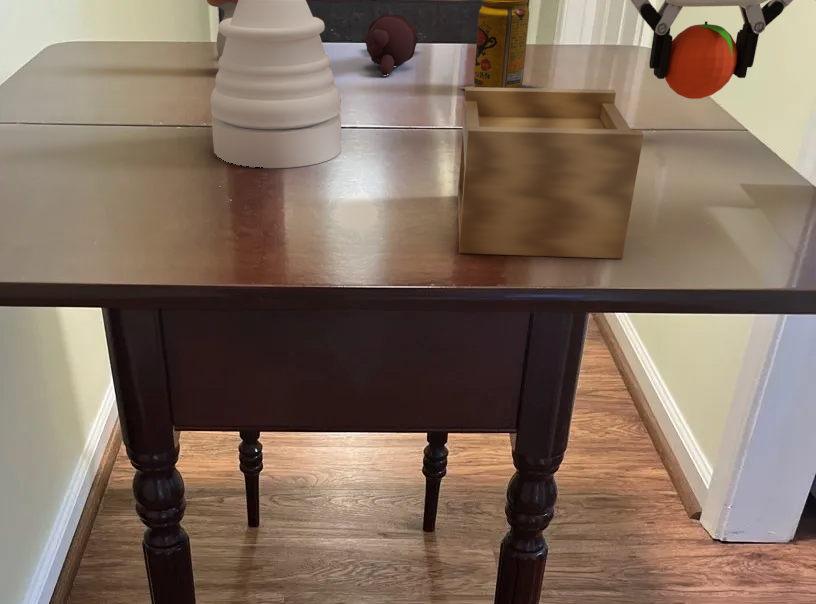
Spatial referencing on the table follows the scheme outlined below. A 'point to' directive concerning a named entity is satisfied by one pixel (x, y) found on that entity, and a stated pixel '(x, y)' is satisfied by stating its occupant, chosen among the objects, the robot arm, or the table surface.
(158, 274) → the table surface
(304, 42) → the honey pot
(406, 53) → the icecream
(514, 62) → the yellow drink can
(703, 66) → the clementine
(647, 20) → the robot arm
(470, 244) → the wooden box
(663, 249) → the table surface
